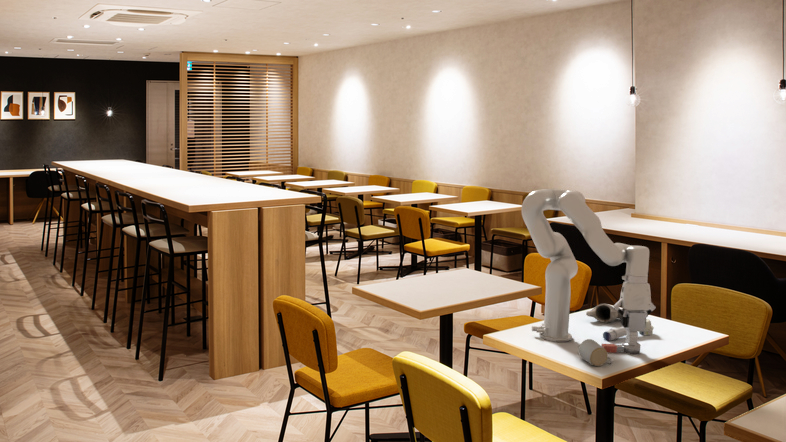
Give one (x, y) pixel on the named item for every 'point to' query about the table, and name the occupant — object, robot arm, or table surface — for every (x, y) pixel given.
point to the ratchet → (625, 345)
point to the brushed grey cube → (636, 321)
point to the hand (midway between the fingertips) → (633, 326)
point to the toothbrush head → (621, 332)
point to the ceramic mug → (593, 353)
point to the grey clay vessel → (604, 313)
